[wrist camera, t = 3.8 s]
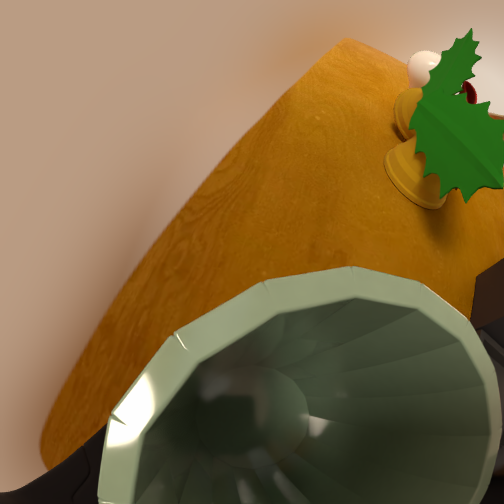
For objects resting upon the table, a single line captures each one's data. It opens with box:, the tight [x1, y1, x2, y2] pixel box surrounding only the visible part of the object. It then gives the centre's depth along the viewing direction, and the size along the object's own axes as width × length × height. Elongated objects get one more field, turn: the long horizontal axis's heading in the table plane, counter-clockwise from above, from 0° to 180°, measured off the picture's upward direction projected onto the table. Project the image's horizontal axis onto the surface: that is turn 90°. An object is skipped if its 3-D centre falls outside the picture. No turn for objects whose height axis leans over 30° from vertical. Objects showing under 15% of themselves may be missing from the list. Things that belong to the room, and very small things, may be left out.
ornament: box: [384, 28, 504, 210], centre depth 18 cm, size 21×8×15 cm, turn 160°
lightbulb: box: [407, 50, 441, 89], centre depth 25 cm, size 6×6×11 cm
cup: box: [97, 266, 502, 504], centre depth 8 cm, size 7×7×12 cm
